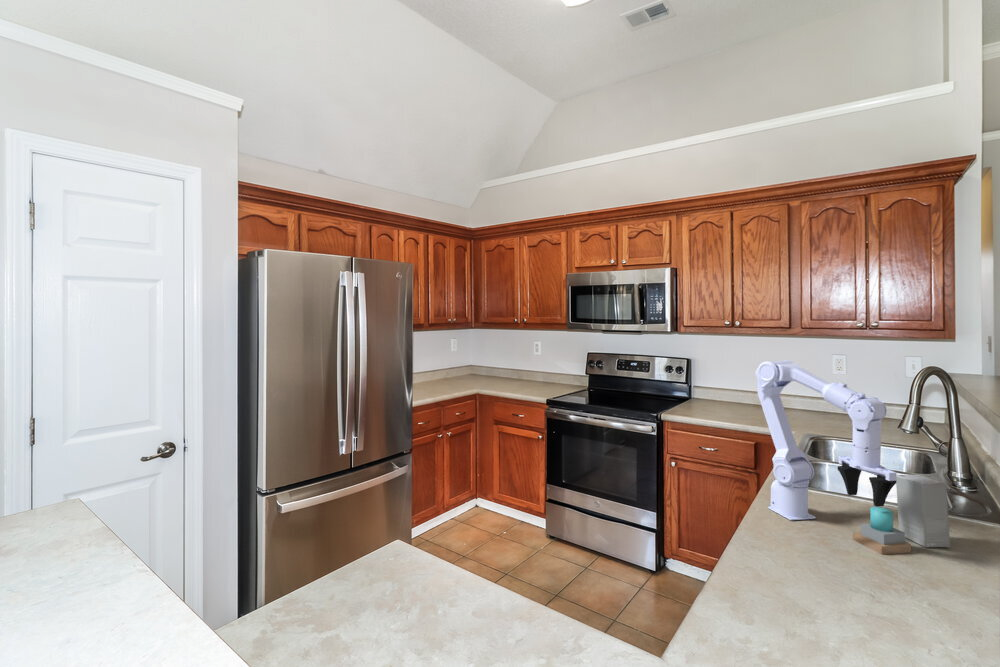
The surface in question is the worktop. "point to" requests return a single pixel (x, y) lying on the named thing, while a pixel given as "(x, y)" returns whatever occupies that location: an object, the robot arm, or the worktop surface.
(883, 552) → the walnut base slab
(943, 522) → the skincare box
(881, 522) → the teal cylinder
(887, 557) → the worktop surface
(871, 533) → the slate top slab
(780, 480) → the robot arm
